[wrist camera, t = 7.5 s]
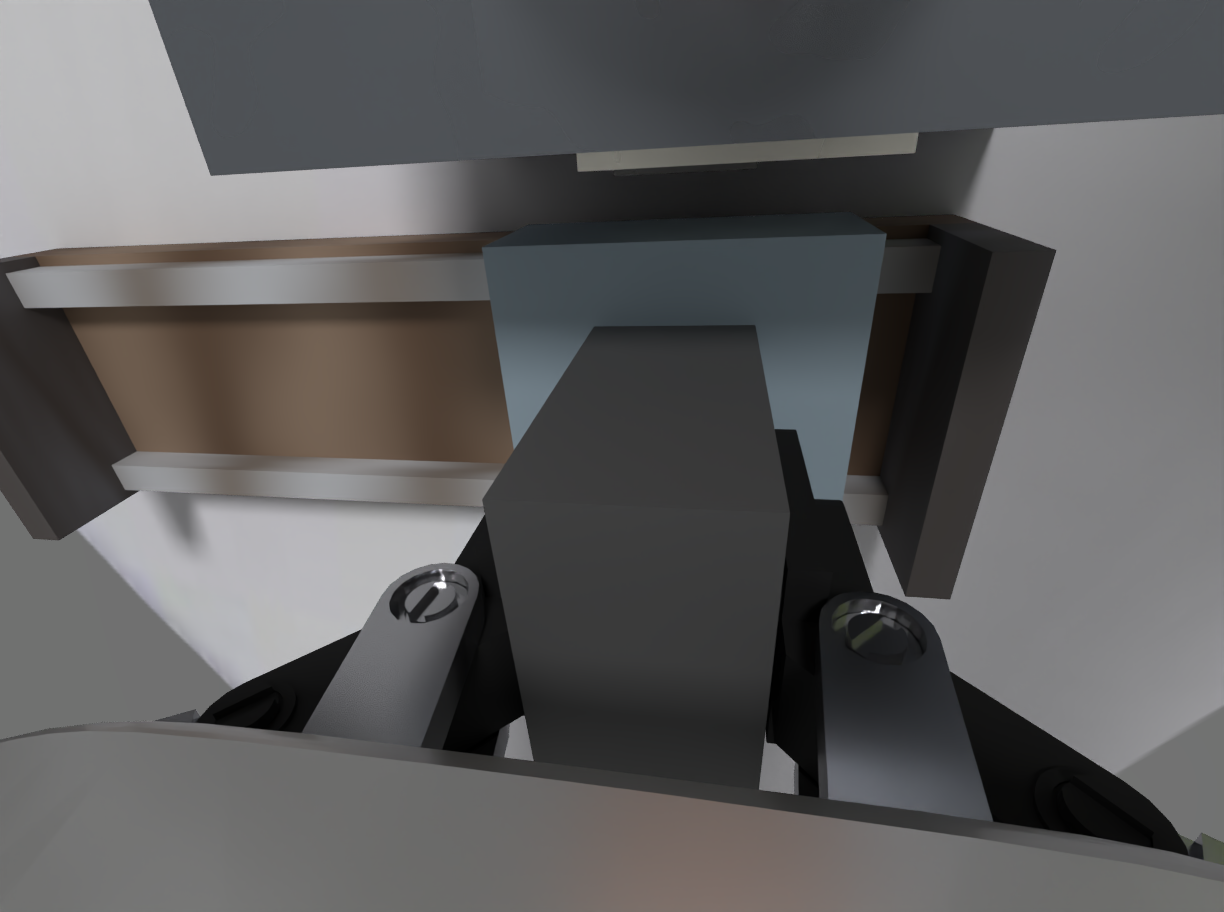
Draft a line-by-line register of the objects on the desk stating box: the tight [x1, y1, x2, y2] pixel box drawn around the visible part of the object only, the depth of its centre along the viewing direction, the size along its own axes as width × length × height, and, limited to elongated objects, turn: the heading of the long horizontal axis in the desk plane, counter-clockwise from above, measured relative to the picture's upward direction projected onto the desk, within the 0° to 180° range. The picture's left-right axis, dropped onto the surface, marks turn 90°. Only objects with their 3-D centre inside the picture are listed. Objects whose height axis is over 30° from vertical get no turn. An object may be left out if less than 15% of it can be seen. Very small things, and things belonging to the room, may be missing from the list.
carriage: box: [482, 212, 887, 790], centre depth 11 cm, size 7×9×9 cm
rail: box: [0, 215, 1056, 599], centre depth 16 cm, size 27×8×5 cm, turn 93°
